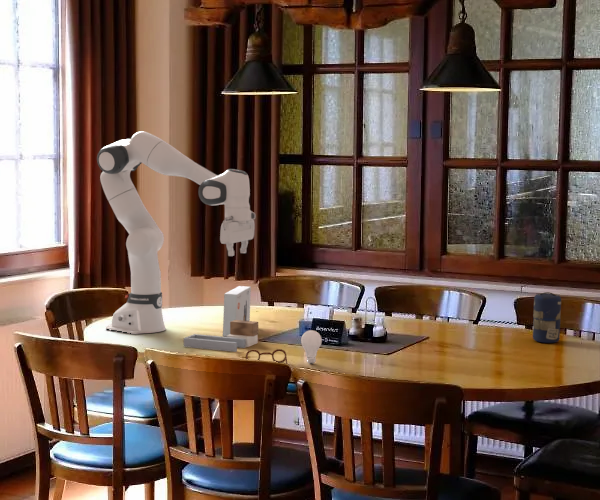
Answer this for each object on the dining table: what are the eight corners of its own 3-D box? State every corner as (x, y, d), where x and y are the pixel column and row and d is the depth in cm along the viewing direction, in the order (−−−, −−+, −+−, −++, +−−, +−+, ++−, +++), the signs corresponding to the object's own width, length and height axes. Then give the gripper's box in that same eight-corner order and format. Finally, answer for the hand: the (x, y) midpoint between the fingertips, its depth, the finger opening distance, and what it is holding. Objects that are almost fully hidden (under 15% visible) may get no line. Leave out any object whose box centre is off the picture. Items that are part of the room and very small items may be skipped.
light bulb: (296, 363, 332) (296, 330, 330) (311, 360, 336) (311, 327, 335) (311, 367, 327) (311, 333, 326) (325, 364, 332) (326, 330, 330)
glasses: (286, 363, 334) (286, 348, 333) (289, 373, 321) (289, 357, 320) (245, 364, 333) (245, 348, 332) (246, 373, 320) (246, 357, 319)
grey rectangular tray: (183, 346, 357) (183, 338, 357) (194, 342, 364) (194, 334, 364) (235, 351, 349) (235, 343, 349) (245, 347, 357) (245, 338, 356)
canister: (537, 337, 377) (539, 289, 375) (563, 340, 372) (564, 291, 370) (529, 342, 369) (530, 292, 367) (555, 345, 364) (556, 295, 362)
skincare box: (236, 337, 374) (236, 294, 372) (222, 336, 375) (222, 293, 374) (251, 326, 395) (251, 285, 393) (237, 326, 396) (237, 285, 394)
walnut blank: (230, 334, 362) (230, 321, 361) (235, 332, 365) (235, 319, 365) (253, 336, 358) (253, 323, 357) (258, 334, 362) (258, 321, 361)
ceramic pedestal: (227, 345, 360) (227, 335, 360) (237, 341, 367) (237, 331, 367) (247, 347, 357) (247, 337, 357) (257, 342, 364) (257, 333, 364)
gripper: (232, 217, 352) (232, 258, 353) (257, 213, 370) (257, 251, 372) (215, 217, 354) (215, 257, 356) (241, 213, 373) (241, 251, 374)
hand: (237, 254), depth 364 cm, fingers open, 8 cm apart
